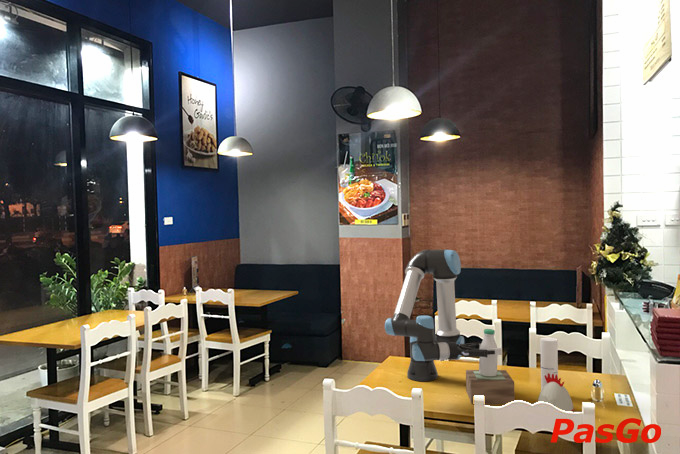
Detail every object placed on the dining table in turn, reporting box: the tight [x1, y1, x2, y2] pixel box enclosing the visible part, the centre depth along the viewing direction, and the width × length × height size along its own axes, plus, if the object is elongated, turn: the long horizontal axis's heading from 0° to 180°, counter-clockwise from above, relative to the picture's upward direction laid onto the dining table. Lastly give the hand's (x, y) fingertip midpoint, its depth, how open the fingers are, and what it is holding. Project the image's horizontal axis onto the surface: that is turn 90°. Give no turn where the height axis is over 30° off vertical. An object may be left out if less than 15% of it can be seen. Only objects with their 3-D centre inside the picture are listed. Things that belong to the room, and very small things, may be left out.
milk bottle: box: [478, 328, 498, 377], centre depth 242 cm, size 8×8×20 cm
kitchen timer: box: [537, 373, 574, 411], centre depth 225 cm, size 14×14×15 cm
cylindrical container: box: [539, 336, 559, 391], centre depth 243 cm, size 7×7×25 cm
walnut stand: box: [465, 369, 516, 405], centre depth 242 cm, size 18×18×10 cm
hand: (497, 348), depth 242 cm, fingers open, 9 cm apart
